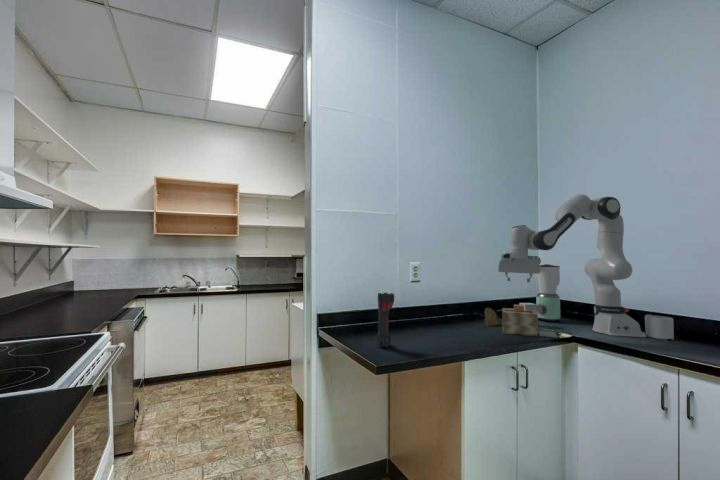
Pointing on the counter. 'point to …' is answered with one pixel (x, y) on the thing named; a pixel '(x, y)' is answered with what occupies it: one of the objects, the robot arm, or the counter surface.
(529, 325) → the crate
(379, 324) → the flashlight
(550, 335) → the mat
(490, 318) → the rock
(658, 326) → the toilet tissue
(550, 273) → the juicer
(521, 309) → the block
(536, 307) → the supplement box
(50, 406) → the counter surface
